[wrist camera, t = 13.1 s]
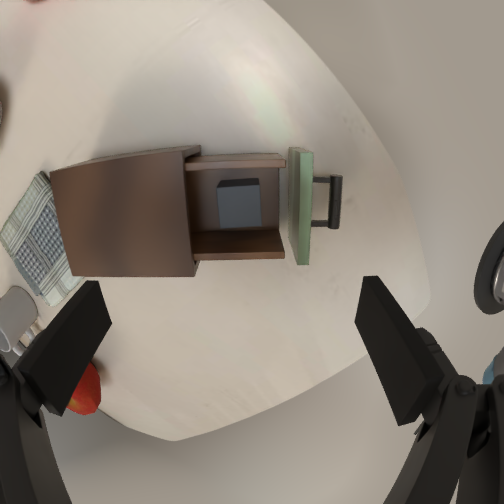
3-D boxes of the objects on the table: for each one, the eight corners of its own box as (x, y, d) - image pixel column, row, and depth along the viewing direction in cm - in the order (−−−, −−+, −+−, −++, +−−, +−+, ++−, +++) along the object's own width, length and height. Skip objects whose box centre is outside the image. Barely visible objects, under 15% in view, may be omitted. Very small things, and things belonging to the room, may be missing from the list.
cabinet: (200, 144, 32) (181, 150, 23) (207, 241, 37) (194, 277, 28) (91, 159, 32) (49, 172, 23) (105, 245, 37) (72, 276, 28)
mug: (5, 291, 41) (-24, 320, 31) (21, 280, 40) (-12, 311, 30) (35, 335, 46) (12, 367, 36) (54, 329, 45) (28, 364, 35)
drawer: (333, 148, 31) (355, 154, 24) (328, 236, 36) (346, 263, 29) (176, 152, 31) (156, 158, 24) (185, 240, 36) (169, 268, 29)
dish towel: (43, 166, 32) (30, 170, 29) (108, 256, 38) (99, 266, 35) (1, 233, 36) (-9, 240, 33) (55, 306, 42) (46, 315, 39)
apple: (120, 375, 49) (102, 421, 38) (94, 385, 52) (76, 425, 40) (82, 339, 45) (55, 382, 34) (59, 353, 48) (36, 391, 37)
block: (258, 177, 32) (259, 184, 28) (260, 214, 34) (261, 226, 30) (220, 180, 32) (215, 187, 28) (223, 216, 34) (220, 228, 30)
